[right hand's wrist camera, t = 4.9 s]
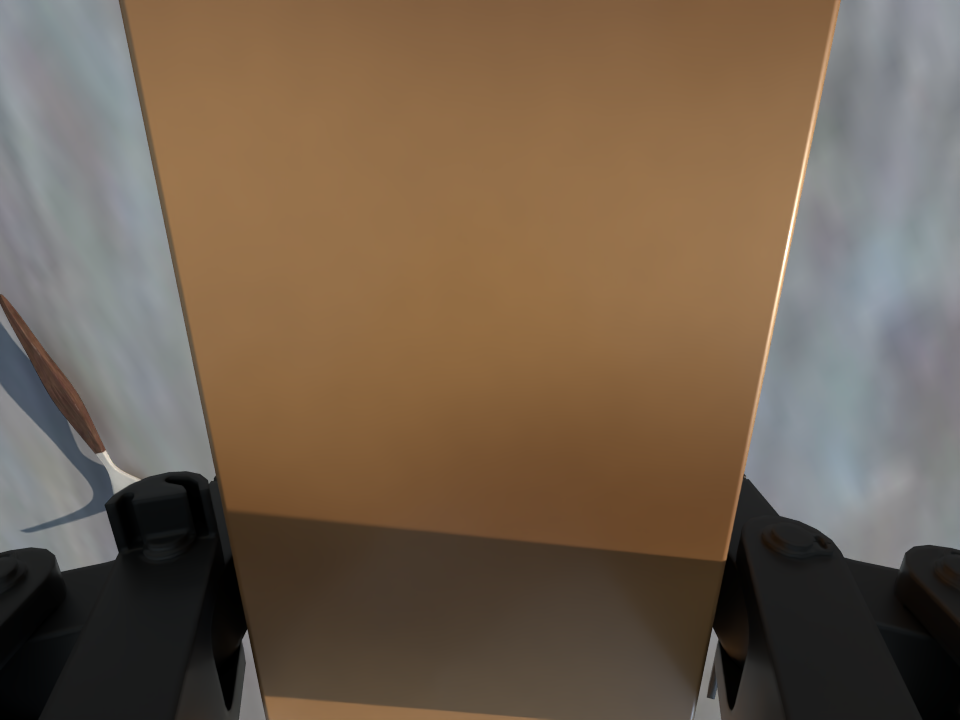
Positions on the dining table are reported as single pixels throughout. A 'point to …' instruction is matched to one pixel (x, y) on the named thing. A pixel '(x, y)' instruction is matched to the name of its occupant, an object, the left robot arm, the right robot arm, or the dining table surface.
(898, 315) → the dining table surface
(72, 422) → the fork
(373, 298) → the box
